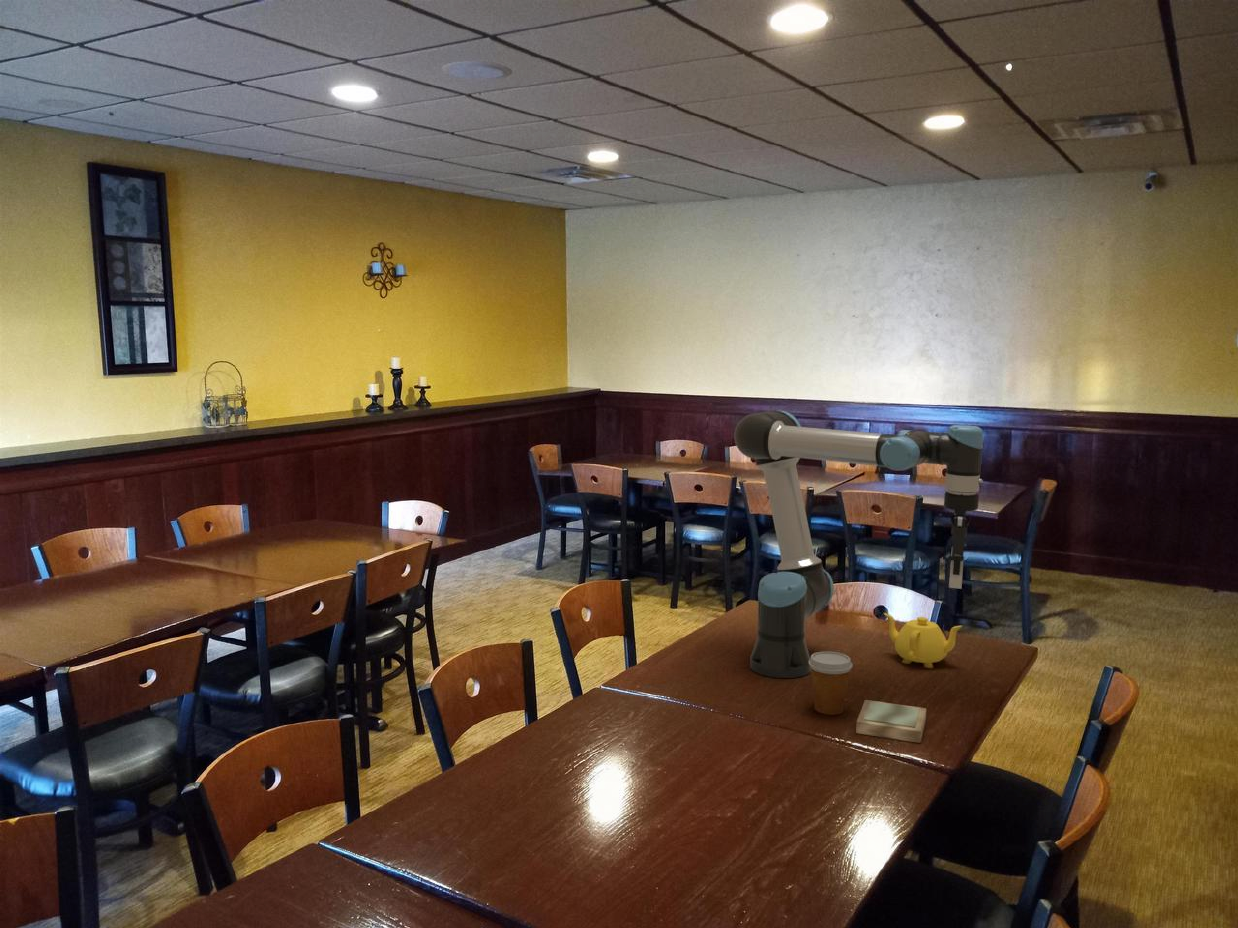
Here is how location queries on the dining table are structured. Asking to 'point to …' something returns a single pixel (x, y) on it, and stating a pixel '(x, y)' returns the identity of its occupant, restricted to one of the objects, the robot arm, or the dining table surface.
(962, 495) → the robot arm
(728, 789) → the dining table surface
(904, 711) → the trivet
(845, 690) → the disposable coffee cup
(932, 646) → the teapot
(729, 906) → the dining table surface
